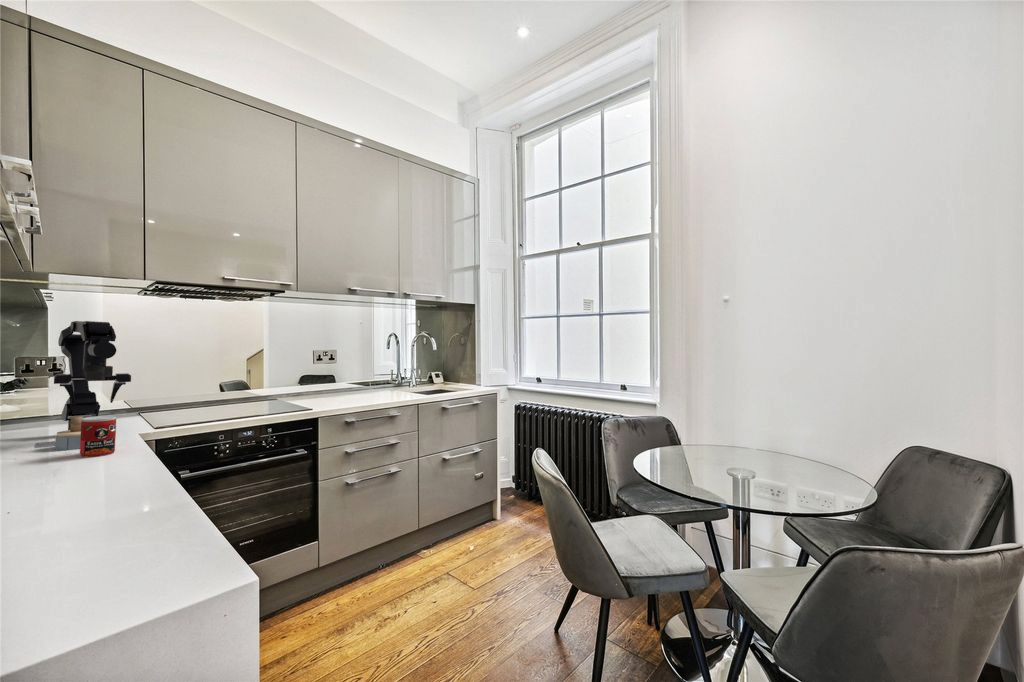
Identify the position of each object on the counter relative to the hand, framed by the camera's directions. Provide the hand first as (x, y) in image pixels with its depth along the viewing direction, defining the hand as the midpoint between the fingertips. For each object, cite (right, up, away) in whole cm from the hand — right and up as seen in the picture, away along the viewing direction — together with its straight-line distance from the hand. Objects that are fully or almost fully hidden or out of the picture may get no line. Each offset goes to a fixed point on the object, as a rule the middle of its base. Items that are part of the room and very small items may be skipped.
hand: (92, 403), depth 147 cm
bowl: (+6, -13, -11) cm, 18 cm away
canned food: (+19, -13, -18) cm, 29 cm away
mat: (-6, -13, -7) cm, 16 cm away
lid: (+6, -8, -11) cm, 15 cm away
